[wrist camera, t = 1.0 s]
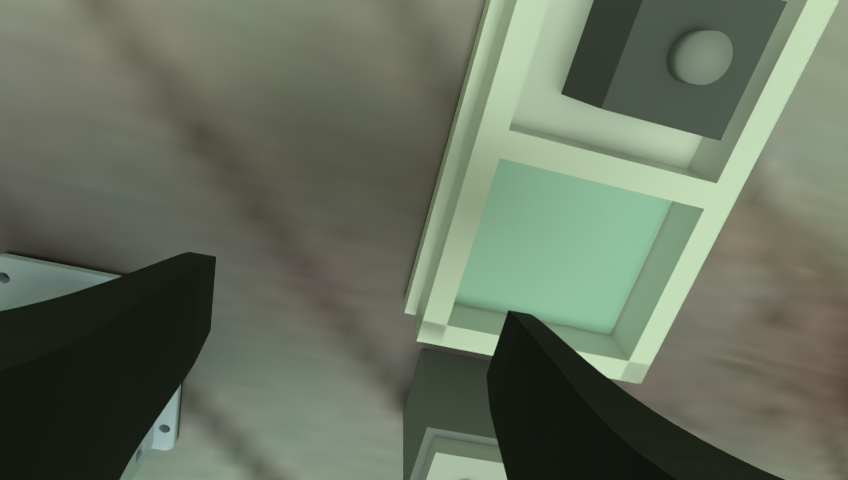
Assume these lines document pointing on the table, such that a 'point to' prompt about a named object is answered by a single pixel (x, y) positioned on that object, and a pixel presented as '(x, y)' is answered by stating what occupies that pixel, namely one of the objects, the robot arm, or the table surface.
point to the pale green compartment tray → (581, 193)
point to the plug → (671, 59)
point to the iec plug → (450, 421)
